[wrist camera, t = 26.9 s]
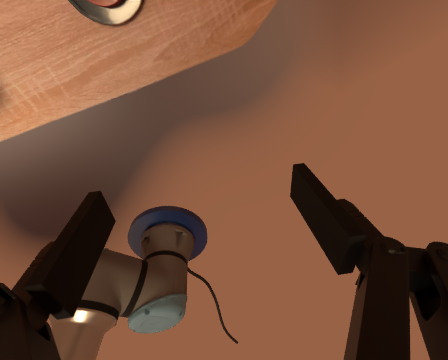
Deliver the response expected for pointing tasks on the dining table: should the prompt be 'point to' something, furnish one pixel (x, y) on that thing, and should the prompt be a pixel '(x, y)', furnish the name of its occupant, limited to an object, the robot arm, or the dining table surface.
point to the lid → (106, 3)
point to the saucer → (108, 11)
